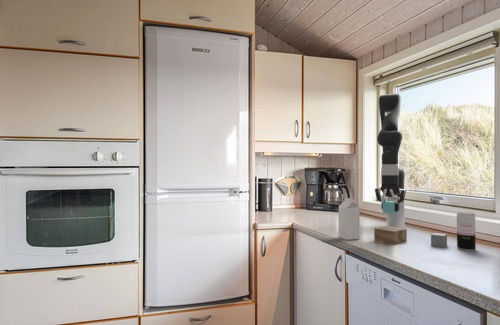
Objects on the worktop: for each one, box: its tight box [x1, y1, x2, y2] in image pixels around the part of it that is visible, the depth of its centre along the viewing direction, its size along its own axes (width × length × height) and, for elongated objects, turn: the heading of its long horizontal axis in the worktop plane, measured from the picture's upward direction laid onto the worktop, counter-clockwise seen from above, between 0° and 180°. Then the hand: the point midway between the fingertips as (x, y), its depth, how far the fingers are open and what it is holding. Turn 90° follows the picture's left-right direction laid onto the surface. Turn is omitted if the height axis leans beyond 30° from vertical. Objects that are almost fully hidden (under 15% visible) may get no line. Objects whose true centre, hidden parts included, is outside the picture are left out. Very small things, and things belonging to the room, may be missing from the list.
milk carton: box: [338, 197, 361, 241], centre depth 167 cm, size 7×7×19 cm
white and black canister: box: [456, 211, 477, 252], centre depth 145 cm, size 7×6×15 cm
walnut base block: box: [373, 225, 408, 245], centre depth 161 cm, size 10×10×6 cm
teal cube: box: [382, 200, 398, 214], centre depth 161 cm, size 5×5×5 cm
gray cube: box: [430, 232, 448, 248], centre depth 151 cm, size 5×5×5 cm
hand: (390, 211), depth 161 cm, fingers closed on teal cube, 5 cm apart
